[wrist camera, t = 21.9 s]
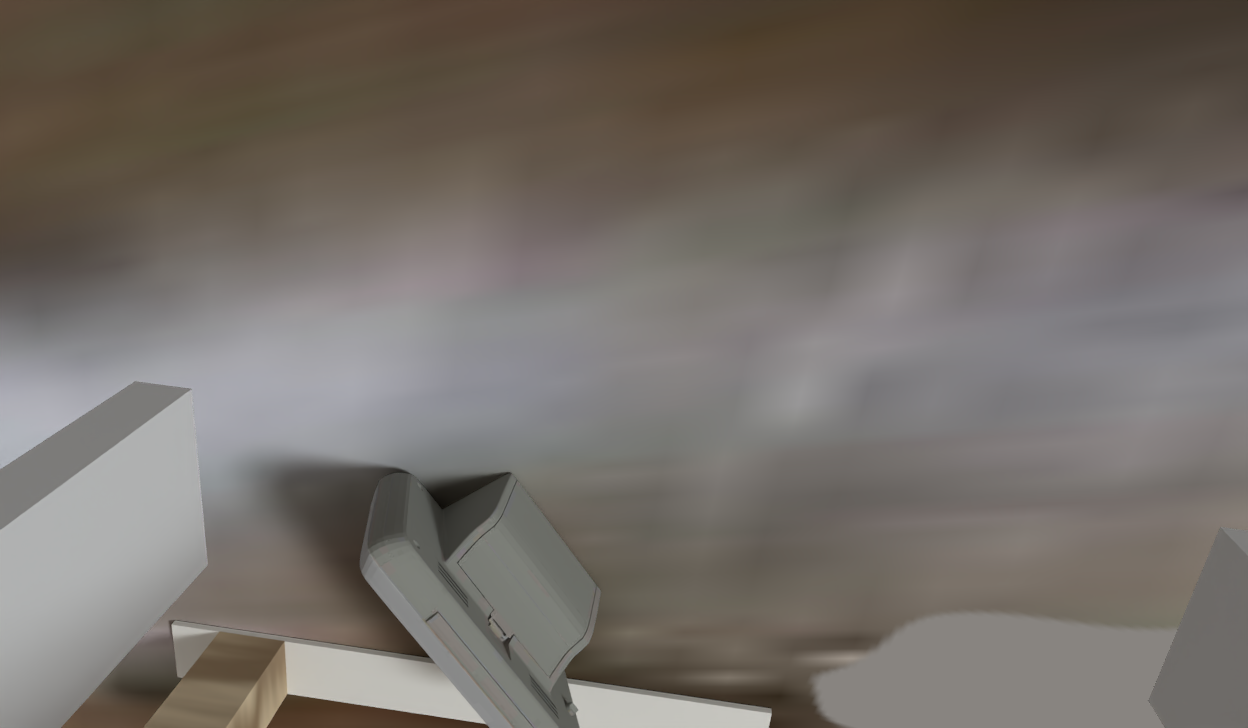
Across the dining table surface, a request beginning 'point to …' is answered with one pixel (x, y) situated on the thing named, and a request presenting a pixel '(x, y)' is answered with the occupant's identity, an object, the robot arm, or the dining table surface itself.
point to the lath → (607, 714)
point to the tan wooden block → (228, 686)
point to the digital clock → (484, 595)
